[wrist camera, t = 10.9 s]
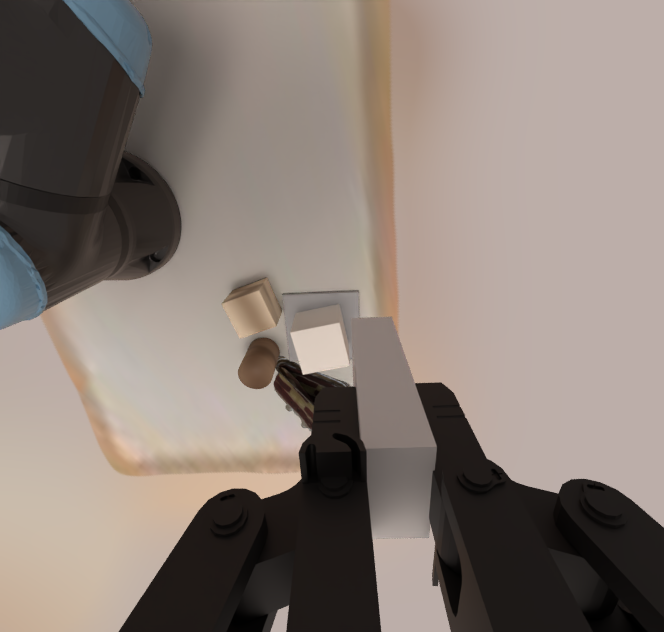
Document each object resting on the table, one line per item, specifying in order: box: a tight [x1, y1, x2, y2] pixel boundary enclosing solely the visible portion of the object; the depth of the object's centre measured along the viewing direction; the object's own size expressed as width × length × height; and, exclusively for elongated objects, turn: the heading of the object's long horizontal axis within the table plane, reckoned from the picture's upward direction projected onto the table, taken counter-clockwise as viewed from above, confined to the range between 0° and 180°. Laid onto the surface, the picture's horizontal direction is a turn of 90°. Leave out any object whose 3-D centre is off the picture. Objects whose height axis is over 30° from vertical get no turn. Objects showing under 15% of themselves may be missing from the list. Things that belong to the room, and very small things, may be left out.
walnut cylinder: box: [238, 338, 280, 389], centre depth 48 cm, size 4×4×6 cm
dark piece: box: [274, 356, 349, 432], centre depth 52 cm, size 10×7×12 cm
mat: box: [282, 291, 359, 361], centre depth 49 cm, size 10×10×1 cm
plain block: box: [290, 304, 350, 375], centre depth 46 cm, size 6×6×6 cm
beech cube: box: [222, 278, 282, 339], centre depth 45 cm, size 5×5×5 cm
